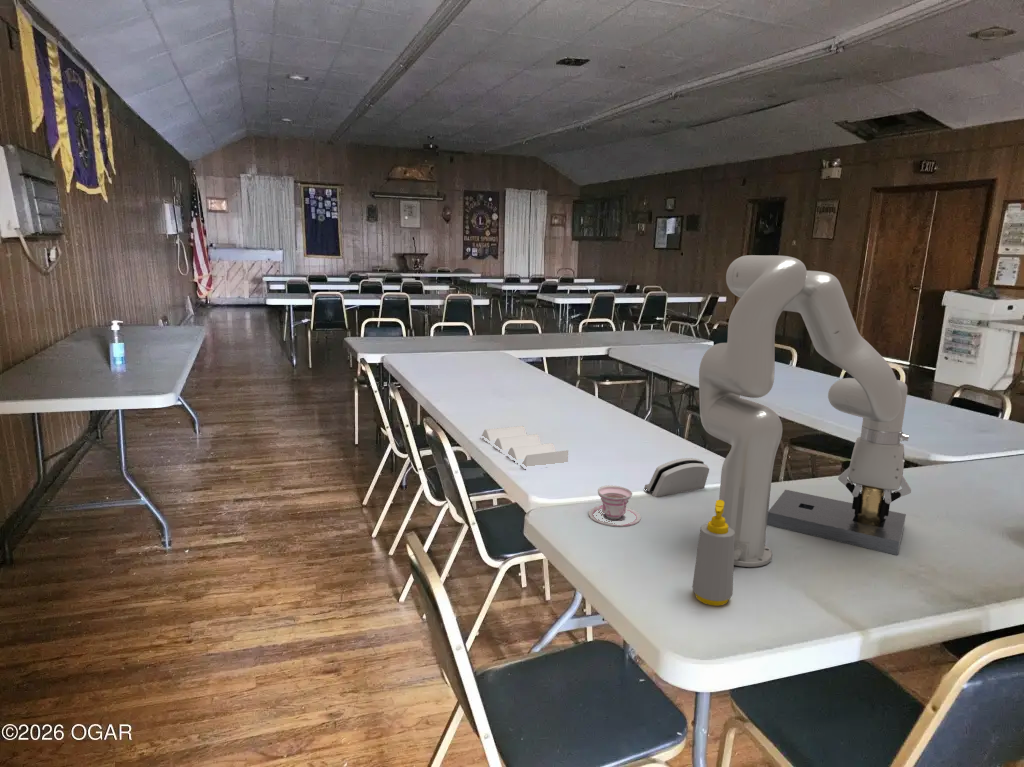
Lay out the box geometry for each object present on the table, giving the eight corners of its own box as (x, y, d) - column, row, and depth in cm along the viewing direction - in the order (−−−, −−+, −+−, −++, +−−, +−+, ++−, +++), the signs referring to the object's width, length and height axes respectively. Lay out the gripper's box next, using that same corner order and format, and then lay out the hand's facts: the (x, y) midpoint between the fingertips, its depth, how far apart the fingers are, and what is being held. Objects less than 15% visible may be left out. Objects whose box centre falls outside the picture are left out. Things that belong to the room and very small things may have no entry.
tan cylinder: (877, 534, 144) (883, 491, 142) (855, 529, 147) (861, 486, 145) (879, 528, 148) (885, 485, 146) (857, 523, 150) (863, 481, 148)
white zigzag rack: (517, 435, 220) (517, 420, 219) (567, 467, 189) (568, 450, 188) (480, 439, 215) (480, 424, 214) (526, 472, 184) (526, 455, 183)
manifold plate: (897, 555, 136) (899, 541, 136) (766, 524, 151) (767, 512, 150) (904, 526, 151) (906, 514, 151) (784, 500, 165) (785, 489, 165)
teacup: (579, 510, 157) (580, 485, 156) (623, 504, 161) (625, 480, 160) (604, 530, 146) (605, 504, 145) (650, 523, 150) (652, 497, 149)
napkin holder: (691, 481, 178) (703, 451, 173) (702, 492, 174) (715, 462, 170) (642, 490, 170) (652, 459, 166) (652, 502, 167) (664, 470, 162)
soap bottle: (689, 603, 116) (697, 507, 112) (693, 585, 122) (701, 493, 119) (730, 611, 114) (740, 513, 110) (732, 592, 120) (741, 499, 116)
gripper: (926, 439, 141) (914, 519, 145) (840, 426, 151) (830, 501, 154) (925, 447, 135) (912, 530, 139) (835, 433, 144) (825, 511, 148)
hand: (869, 514), depth 146 cm, fingers closed on tan cylinder, 4 cm apart
